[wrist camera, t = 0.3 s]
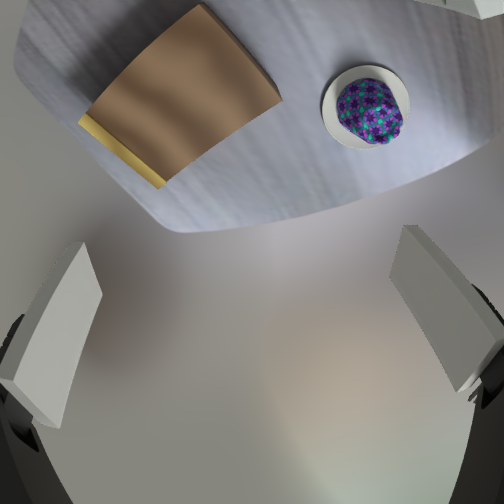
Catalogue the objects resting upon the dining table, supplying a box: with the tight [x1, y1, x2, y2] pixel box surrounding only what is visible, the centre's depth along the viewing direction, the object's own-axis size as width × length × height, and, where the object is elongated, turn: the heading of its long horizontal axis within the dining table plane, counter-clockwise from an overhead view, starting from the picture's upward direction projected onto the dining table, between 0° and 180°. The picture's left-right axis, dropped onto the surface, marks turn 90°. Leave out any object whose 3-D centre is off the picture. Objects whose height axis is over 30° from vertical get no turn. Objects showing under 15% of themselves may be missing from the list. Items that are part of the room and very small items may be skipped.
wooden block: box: [78, 3, 283, 189], centre depth 29 cm, size 18×13×5 cm
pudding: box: [322, 65, 410, 149], centre depth 31 cm, size 12×12×5 cm
